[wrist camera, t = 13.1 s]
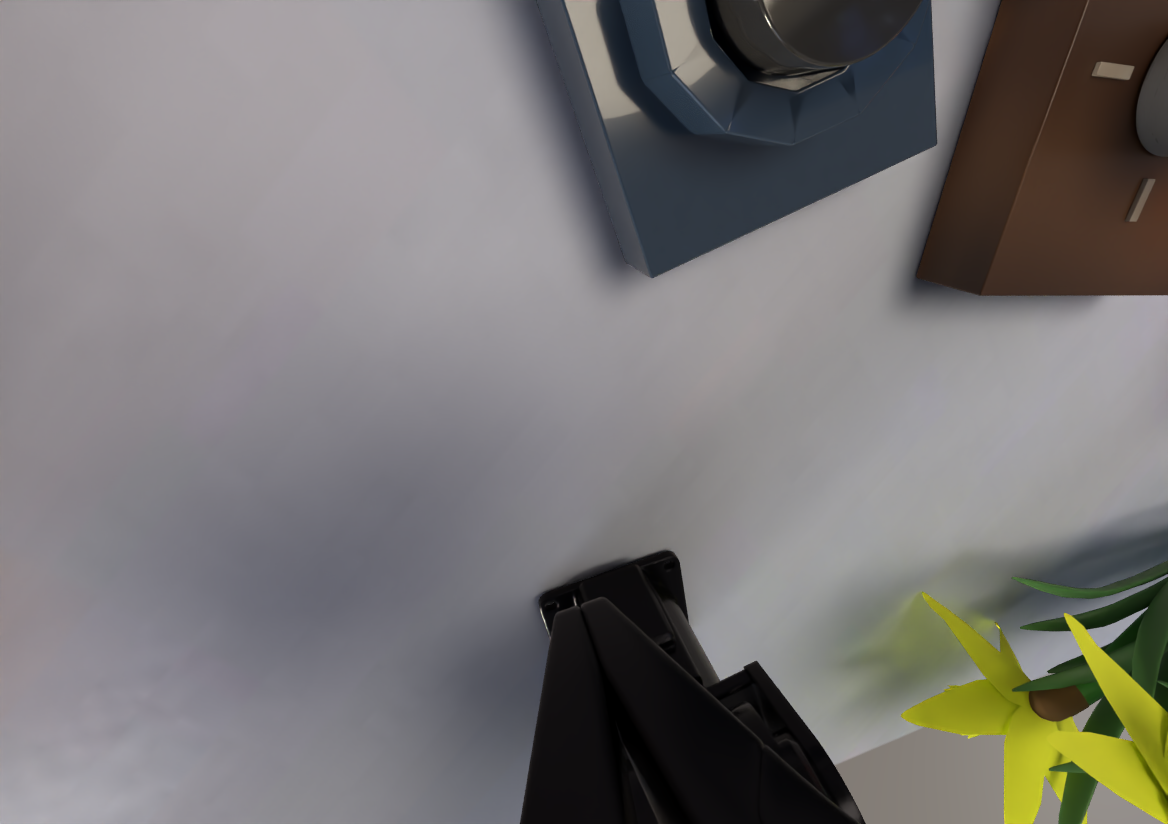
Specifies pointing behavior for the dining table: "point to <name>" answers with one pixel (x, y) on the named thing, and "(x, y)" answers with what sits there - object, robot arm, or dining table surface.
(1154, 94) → the dial
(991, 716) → the daffodil flowers
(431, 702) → the dining table surface
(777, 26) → the plunger
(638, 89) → the push button panel
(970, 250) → the dial panel
